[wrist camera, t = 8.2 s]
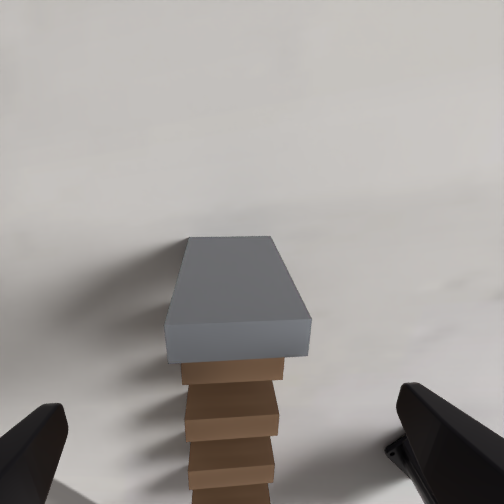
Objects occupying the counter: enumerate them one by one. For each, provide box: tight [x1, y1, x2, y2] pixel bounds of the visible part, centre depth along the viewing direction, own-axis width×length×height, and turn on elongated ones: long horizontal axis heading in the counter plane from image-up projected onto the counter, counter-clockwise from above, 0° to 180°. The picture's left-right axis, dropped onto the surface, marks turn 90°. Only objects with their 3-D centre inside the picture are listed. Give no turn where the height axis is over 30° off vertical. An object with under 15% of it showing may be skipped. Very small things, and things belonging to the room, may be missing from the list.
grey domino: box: [164, 236, 312, 364], centre depth 15 cm, size 2×5×9 cm, turn 89°
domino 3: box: [188, 436, 275, 490], centre depth 20 cm, size 2×5×6 cm, turn 88°
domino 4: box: [192, 483, 270, 504], centre depth 22 cm, size 2×5×6 cm, turn 88°
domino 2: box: [185, 380, 279, 442], centre depth 19 cm, size 2×5×6 cm, turn 88°
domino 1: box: [181, 357, 285, 385], centre depth 17 cm, size 2×5×6 cm, turn 88°
